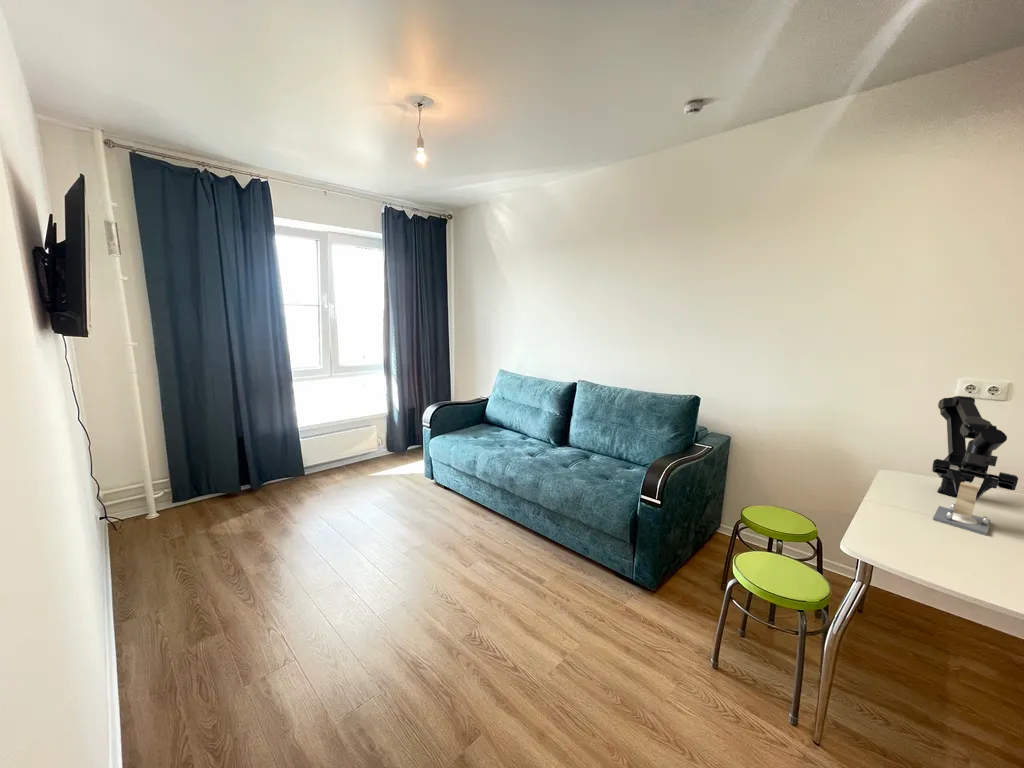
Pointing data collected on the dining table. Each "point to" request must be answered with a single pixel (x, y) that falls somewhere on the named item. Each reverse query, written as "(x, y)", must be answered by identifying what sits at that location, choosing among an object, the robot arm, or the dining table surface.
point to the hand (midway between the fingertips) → (966, 495)
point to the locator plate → (962, 520)
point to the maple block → (966, 499)
